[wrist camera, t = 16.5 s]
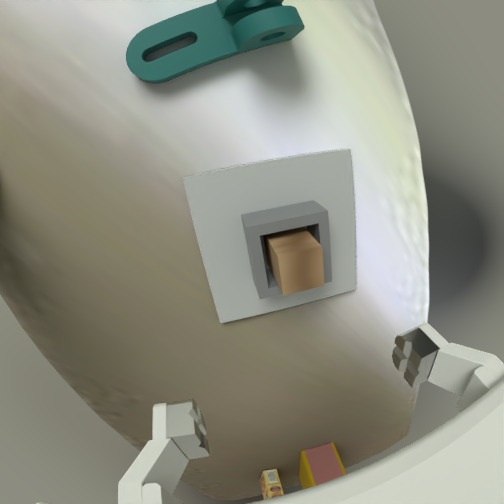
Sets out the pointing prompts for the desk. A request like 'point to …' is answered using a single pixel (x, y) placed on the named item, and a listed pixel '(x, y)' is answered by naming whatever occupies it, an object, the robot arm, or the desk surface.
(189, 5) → the desk surface
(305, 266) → the walnut block
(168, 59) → the bracket
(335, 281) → the well
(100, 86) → the desk surface
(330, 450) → the alarm clock
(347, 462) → the desk surface
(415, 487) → the robot arm
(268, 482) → the candy box
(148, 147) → the desk surface
